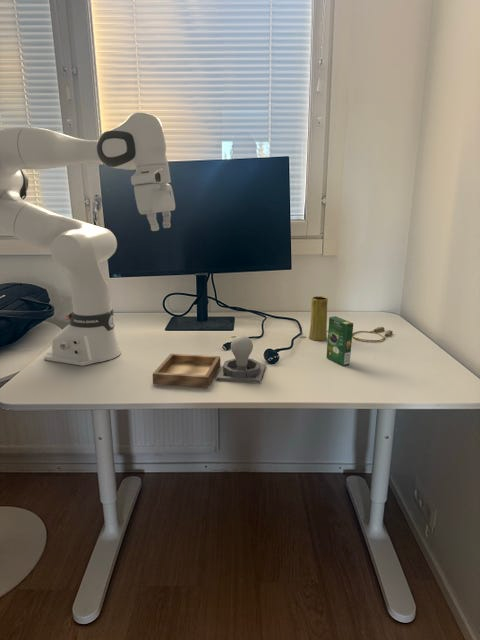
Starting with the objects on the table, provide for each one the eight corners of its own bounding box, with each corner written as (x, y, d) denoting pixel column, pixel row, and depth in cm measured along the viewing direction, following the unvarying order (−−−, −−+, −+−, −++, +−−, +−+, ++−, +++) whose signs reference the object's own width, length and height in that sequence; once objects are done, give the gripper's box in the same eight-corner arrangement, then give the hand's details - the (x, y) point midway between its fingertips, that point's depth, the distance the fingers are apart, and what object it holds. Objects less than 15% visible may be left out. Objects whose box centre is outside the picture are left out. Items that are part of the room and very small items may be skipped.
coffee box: (351, 365, 128) (354, 322, 125) (343, 367, 127) (346, 323, 123) (333, 356, 135) (335, 315, 132) (325, 358, 134) (328, 316, 130)
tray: (153, 384, 116) (152, 373, 116) (171, 363, 131) (170, 353, 130) (208, 388, 114) (208, 377, 113) (220, 366, 128) (220, 356, 127)
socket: (216, 380, 119) (216, 371, 118) (225, 363, 130) (225, 355, 129) (260, 383, 117) (260, 374, 116) (265, 366, 128) (265, 358, 127)
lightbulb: (234, 378, 120) (233, 340, 117) (228, 370, 125) (228, 333, 122) (255, 376, 121) (255, 338, 118) (249, 367, 127) (249, 331, 124)
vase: (319, 342, 148) (321, 301, 144) (305, 337, 152) (306, 297, 148) (330, 338, 152) (332, 298, 148) (316, 334, 156) (318, 295, 152)
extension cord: (402, 341, 149) (403, 336, 149) (359, 344, 147) (359, 339, 146) (384, 331, 161) (385, 325, 160) (344, 333, 158) (344, 328, 158)
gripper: (156, 179, 129) (163, 227, 133) (127, 177, 110) (136, 233, 114) (176, 177, 128) (183, 225, 132) (151, 175, 109) (159, 231, 113)
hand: (161, 229), depth 123 cm, fingers open, 8 cm apart
